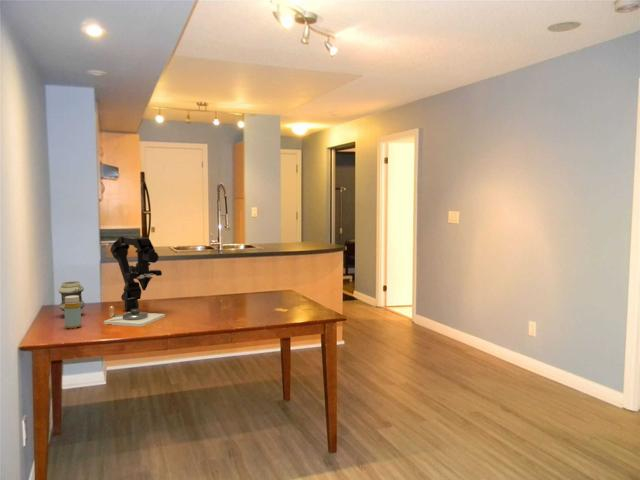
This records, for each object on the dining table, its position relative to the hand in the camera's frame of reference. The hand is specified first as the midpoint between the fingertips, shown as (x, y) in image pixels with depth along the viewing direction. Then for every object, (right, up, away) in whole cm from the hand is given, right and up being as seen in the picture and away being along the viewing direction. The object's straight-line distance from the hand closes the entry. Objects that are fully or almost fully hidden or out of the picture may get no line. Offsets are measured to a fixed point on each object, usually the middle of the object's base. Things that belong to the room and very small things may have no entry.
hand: (144, 290), depth 265 cm
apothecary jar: (-37, -13, -3) cm, 39 cm away
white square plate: (0, -14, -12) cm, 19 cm away
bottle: (-25, -15, -26) cm, 39 cm away
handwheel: (-3, -12, -14) cm, 19 cm away
